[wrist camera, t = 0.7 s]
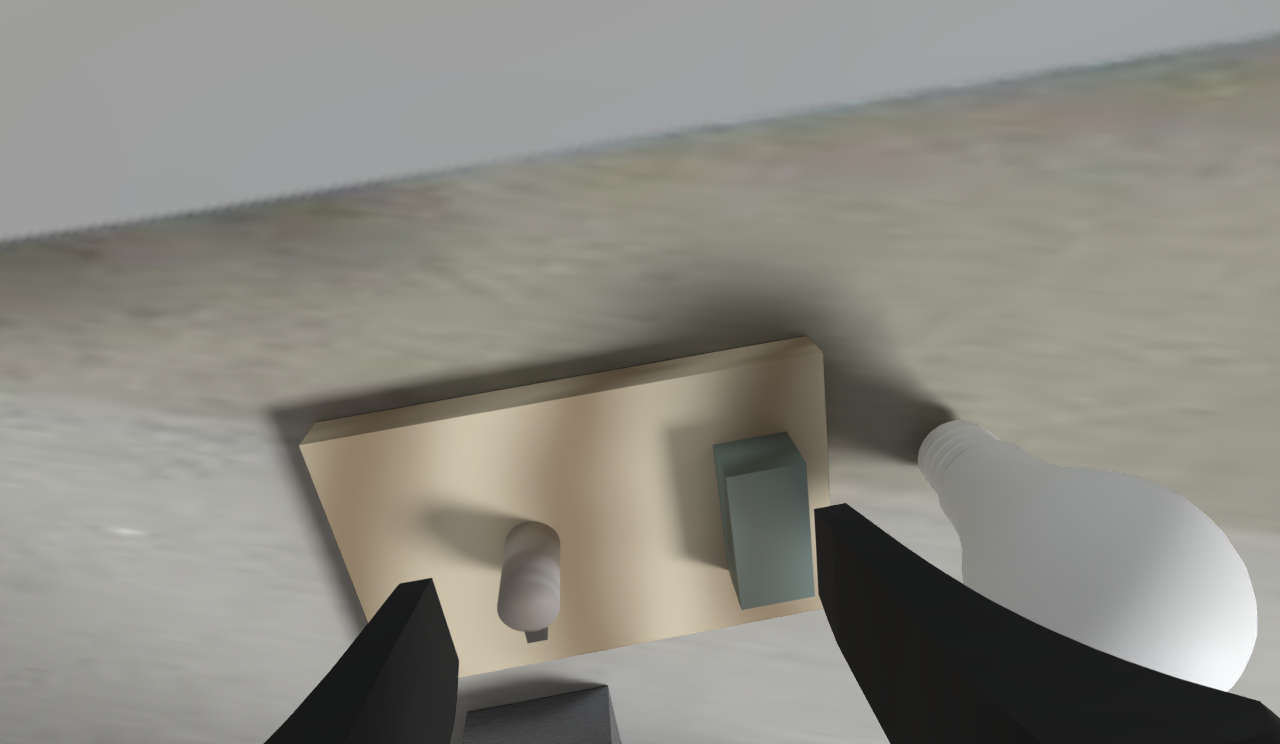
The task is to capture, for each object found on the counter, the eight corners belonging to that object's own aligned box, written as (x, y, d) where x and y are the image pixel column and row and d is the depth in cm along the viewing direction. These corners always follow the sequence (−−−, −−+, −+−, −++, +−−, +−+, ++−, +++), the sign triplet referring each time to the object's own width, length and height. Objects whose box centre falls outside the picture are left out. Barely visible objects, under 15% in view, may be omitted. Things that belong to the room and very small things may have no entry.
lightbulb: (826, 429, 24) (1011, 680, 14) (981, 326, 23) (1297, 515, 13) (905, 542, 27) (1114, 826, 17) (1051, 451, 26) (1365, 695, 16)
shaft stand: (807, 335, 23) (860, 392, 19) (821, 579, 27) (868, 670, 23) (314, 422, 22) (259, 500, 18) (403, 657, 26) (373, 766, 22)
